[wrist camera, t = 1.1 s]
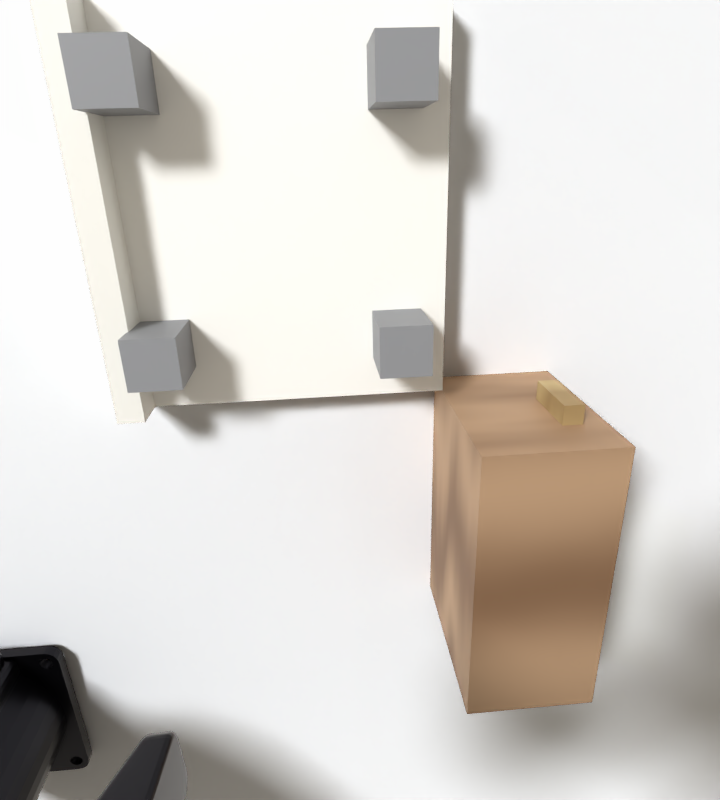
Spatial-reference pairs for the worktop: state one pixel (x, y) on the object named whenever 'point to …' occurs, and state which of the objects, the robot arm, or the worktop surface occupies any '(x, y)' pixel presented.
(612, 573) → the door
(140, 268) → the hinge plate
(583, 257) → the worktop surface
